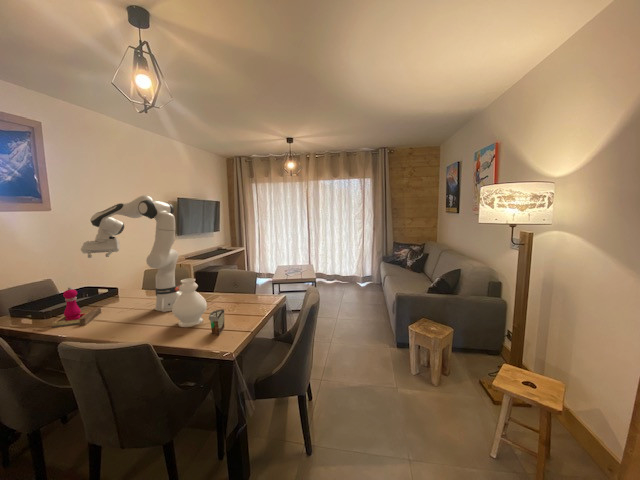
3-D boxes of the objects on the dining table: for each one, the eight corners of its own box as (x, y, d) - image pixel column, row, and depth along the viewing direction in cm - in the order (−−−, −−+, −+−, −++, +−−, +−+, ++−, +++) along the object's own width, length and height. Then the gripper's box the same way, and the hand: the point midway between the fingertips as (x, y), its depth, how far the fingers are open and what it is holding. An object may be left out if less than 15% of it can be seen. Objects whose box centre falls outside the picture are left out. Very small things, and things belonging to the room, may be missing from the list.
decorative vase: (202, 327, 142) (200, 283, 140) (167, 330, 139) (164, 285, 137) (211, 315, 160) (208, 275, 157) (180, 317, 157) (177, 277, 154)
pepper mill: (71, 322, 150) (67, 289, 148) (61, 321, 151) (57, 288, 149) (84, 317, 157) (81, 285, 155) (75, 317, 158) (71, 285, 156)
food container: (213, 326, 143) (212, 309, 142) (225, 326, 144) (224, 308, 143) (206, 337, 131) (204, 318, 130) (218, 336, 131) (217, 317, 130)
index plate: (91, 315, 162) (91, 311, 162) (80, 323, 150) (80, 319, 150) (65, 318, 158) (64, 315, 157) (51, 327, 145) (51, 323, 145)
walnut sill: (101, 312, 167) (100, 306, 166) (85, 325, 148) (84, 318, 147) (96, 313, 166) (96, 307, 165) (80, 325, 147) (79, 319, 147)
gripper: (82, 238, 173) (76, 255, 164) (119, 237, 180) (115, 252, 171) (86, 244, 177) (80, 260, 169) (122, 242, 184) (118, 258, 176)
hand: (98, 256), depth 170 cm, fingers open, 8 cm apart
